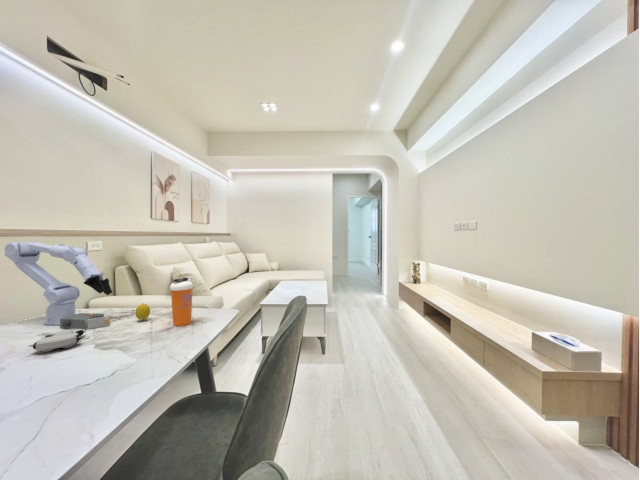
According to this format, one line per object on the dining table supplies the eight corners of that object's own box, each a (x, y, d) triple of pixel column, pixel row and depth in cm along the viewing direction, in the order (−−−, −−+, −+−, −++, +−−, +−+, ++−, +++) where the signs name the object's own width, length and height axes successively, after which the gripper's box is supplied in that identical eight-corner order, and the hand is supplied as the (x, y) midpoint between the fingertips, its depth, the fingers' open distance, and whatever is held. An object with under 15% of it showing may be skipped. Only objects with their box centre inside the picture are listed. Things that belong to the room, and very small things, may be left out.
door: (85, 328, 105) (85, 319, 105) (109, 324, 109) (109, 316, 109) (84, 329, 104) (84, 320, 104) (109, 325, 108) (108, 317, 108)
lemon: (137, 319, 116) (136, 302, 116) (151, 318, 119) (151, 301, 118) (134, 323, 111) (133, 305, 111) (149, 321, 114) (148, 304, 113)
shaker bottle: (165, 325, 108) (164, 279, 107) (182, 319, 116) (181, 276, 116) (182, 328, 105) (181, 280, 105) (198, 321, 114) (197, 277, 113)
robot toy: (43, 345, 91) (27, 358, 79) (43, 332, 92) (27, 344, 79) (88, 337, 98) (79, 348, 86) (88, 325, 99) (79, 335, 86)
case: (57, 329, 105) (57, 318, 105) (80, 321, 114) (80, 311, 114) (83, 329, 104) (82, 318, 104) (103, 322, 113) (103, 312, 113)
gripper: (89, 260, 108) (108, 285, 108) (104, 267, 121) (121, 289, 121) (71, 271, 105) (90, 295, 105) (88, 276, 118) (105, 298, 118)
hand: (106, 292), depth 113 cm, fingers open, 7 cm apart
